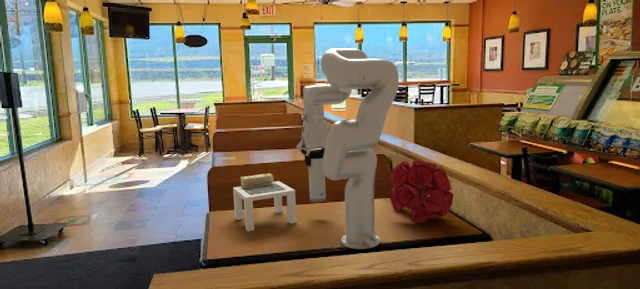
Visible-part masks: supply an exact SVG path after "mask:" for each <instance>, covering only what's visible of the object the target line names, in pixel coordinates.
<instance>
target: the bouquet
mask: <svg viewBox="0 0 640 289" xmlns="http://www.w3.org/2000/svg"><path fill="white" fill-rule="evenodd" d="M437 167H438V165H437V164H436V163H432V162H425V161H421V160H415V159H414V160H412V161H411V164H410V163H409V161H407V160H404V161H401V162H400V163H398V164H397V165H396V166H395V168H393V169H392V170H391V172H390V175H389V179H390V180H392V182H391V184H392V187H391V189H390V190H389V198H390V201H391V202H390V203H391V206H392V209H393V211H395V213H397V214H398V213H400V212H402V211H403V209H405V208H406V209H408V210H410V216H409V217H410V220H411V222H413V223H416V224H417V223H425V222H428V220H435V219H436V218H443V217H445V216H446V215H448V213H449V211H450V209H451V207H452V205H453V202H454V201H453V199H454V193H453V191H451V190H453V188H452V185H451V182H450V179H449V178H448V174H447V172H446V171H445V170H444V169H443V168H440V167H438V168H437Z"/></svg>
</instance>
